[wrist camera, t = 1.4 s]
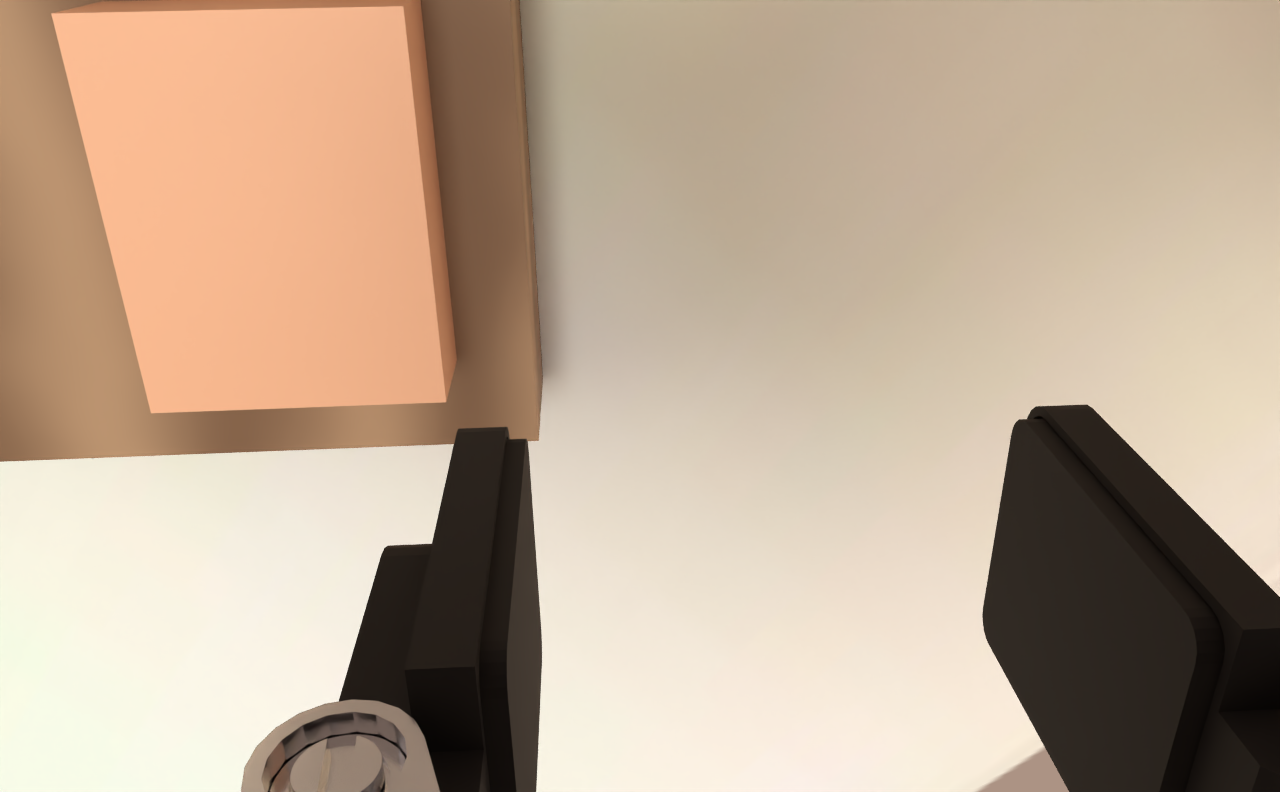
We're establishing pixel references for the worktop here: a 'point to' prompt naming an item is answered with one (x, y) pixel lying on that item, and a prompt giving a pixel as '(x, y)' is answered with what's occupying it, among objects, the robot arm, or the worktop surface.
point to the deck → (93, 306)
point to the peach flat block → (268, 197)
